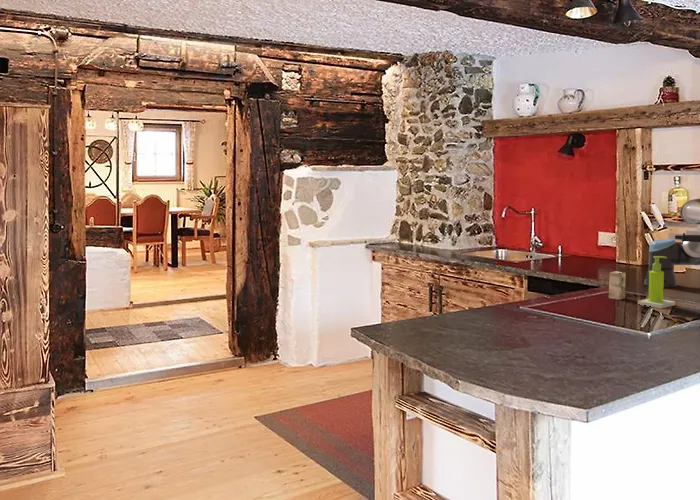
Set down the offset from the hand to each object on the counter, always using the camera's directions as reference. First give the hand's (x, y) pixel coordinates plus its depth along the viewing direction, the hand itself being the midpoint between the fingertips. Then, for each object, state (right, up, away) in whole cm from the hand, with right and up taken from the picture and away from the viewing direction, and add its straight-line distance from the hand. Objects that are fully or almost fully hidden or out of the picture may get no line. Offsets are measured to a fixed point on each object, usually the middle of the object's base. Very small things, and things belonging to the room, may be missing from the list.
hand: (677, 234), depth 285 cm
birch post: (-16, -29, +24) cm, 41 cm away
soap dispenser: (-5, -29, +8) cm, 31 cm away
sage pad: (-5, -31, +8) cm, 32 cm away
